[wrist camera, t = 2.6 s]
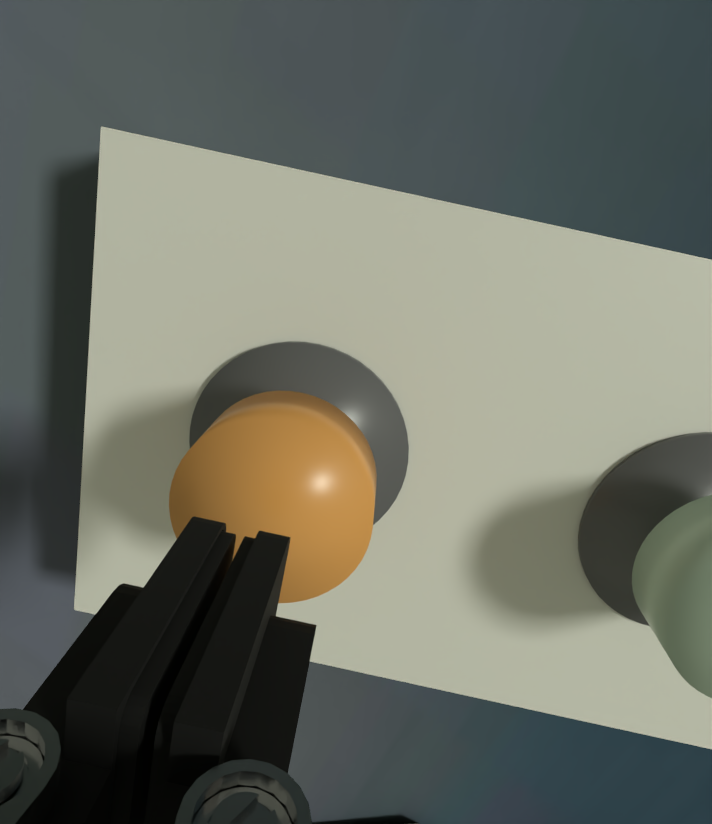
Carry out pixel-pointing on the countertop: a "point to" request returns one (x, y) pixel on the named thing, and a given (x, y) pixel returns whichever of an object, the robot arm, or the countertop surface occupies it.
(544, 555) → the button panel
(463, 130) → the countertop surface
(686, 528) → the sage button
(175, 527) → the orange button
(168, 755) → the robot arm
